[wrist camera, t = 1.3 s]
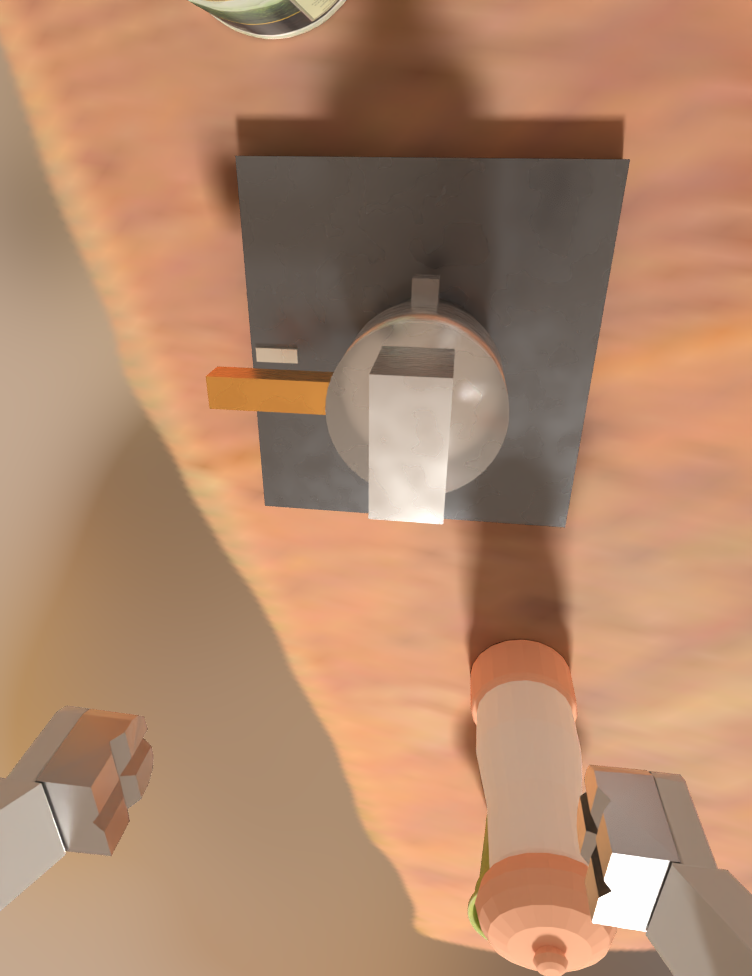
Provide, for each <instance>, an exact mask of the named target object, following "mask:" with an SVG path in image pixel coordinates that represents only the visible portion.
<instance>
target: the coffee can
mask: <svg viewBox="0 0 752 976" xmlns="http://www.w3.org/2000/svg"><path fill="white" fill-rule="evenodd" d="M188 1H190V2H192V3H193V4H195V5H196V6H198V7H200V8H202V9H203V10H205V11H207V12H209V13H210V14H211V15H212V16H213V17H214V18H216V19H217V20H219V21H220V22H222V23H223V24H224V25H226V26H228V27H230V28H231V29H233V30H235V31H237V32H240V33H242V34H245V35H248V36H252V37H257V38H263V39H282V38H289V37H293V36H296V35H300V34H302V33H305V32H307V31H310V30H312V29H313V28H316V27H318V26H319V25H321V24H322V23H324V22H325V21H327V20H328V19H329V18H330V17H331V16H332V15H333V14H334V13H335V12H336V11H337V10H338V9H339V8H340V7H341V6H342V5H343V4H344V3H345V1H346V0H188Z"/></svg>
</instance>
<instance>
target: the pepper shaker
mask: <svg viewBox="0 0 752 976" xmlns="http://www.w3.org/2000/svg"><path fill="white" fill-rule="evenodd" d="M470 678H471V712H472V717H473V721H474V722H475V724H476V725H477V727H476V755H477V760H478V765H479V770H480V775H481V779H482V784H483V789H484V794H485V799H486V804H487V821H488V844H489V868H490V869H489V870H488V871H487V872H486V873H485V874H484V876H483V878H482V880H481V884H480V887H479V890H478V894H477V897H476V900H475V907H476V911H477V915H478V919H479V923H480V926H481V930H482V932H483V933H484V935H485V937H486V938H487V940H488V941H489V943H490V944H491V946H492V947H493V948H494V949H495V950H496V952H497V953H498V954H499V955H501V956H503V957H504V958H505V959H507V960H508V961H510V962H512V963H515V964H517V965H520V966H523V967H525V968H528V969H532V970H536V971H539V973H541V974H542V975H545V976H561V975H563V974H564V973H565V972H568V971H574V970H580V969H583V968H585V967H588V966H591V965H593V964H595V963H597V962H598V961H599V960H601V959H602V958H603V957H604V956H605V955H606V953H607V951H608V949H609V948H610V946H611V943H612V941H613V939H614V937H615V935H616V932H617V927H615V926H609V925H603V924H597V923H592V920H591V914H590V908H589V903H588V897H587V892H586V886H585V878H586V874H587V870H588V866H589V865H588V864H587V862H586V861H585V860H584V859H583V857H582V856H581V855H580V850H579V844H578V836H577V808H578V803H579V798H580V796H581V795H582V755H581V747H580V743H579V738H578V734H577V730H576V726H575V721H576V718H577V715H578V712H577V703H576V698H575V693H574V688H573V683H572V678H571V674H570V669H569V667H568V665H567V663H566V661H565V660H564V658H563V657H562V656H561V655H560V654H559V653H557V652H556V651H555V650H554V649H553V648H551V647H548V646H546V645H544V644H542V643H539V642H535V641H529V640H510V641H504V642H501V643H498V644H495V645H493V646H491V647H489V648H488V649H486V650H485V651H484V652H482V653H481V654H480V655H479V656H478V658H477V659H476V661H475V662H474V663H473V666H472V671H471V675H470Z"/></svg>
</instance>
